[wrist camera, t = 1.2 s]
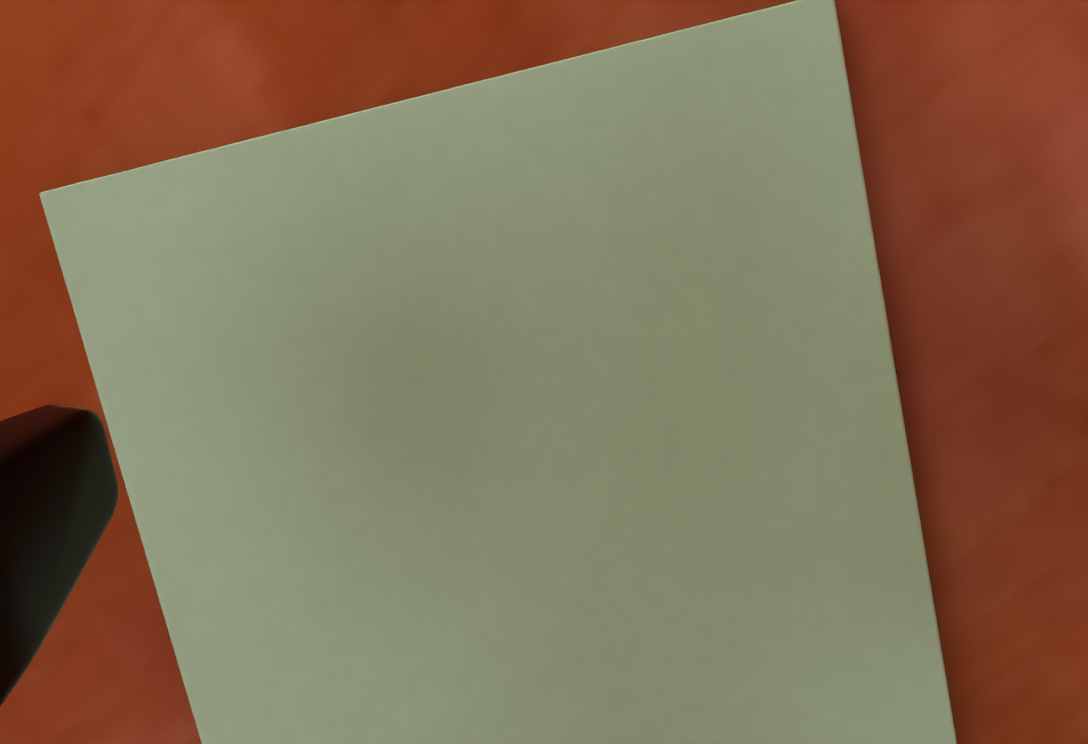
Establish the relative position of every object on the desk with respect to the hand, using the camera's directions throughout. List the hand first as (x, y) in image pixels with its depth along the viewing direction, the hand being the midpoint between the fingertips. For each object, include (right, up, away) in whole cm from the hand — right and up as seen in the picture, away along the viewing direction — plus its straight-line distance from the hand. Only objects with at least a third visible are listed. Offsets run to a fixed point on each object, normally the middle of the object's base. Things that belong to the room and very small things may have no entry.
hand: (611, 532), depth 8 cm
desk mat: (-1, -3, +16) cm, 16 cm away
